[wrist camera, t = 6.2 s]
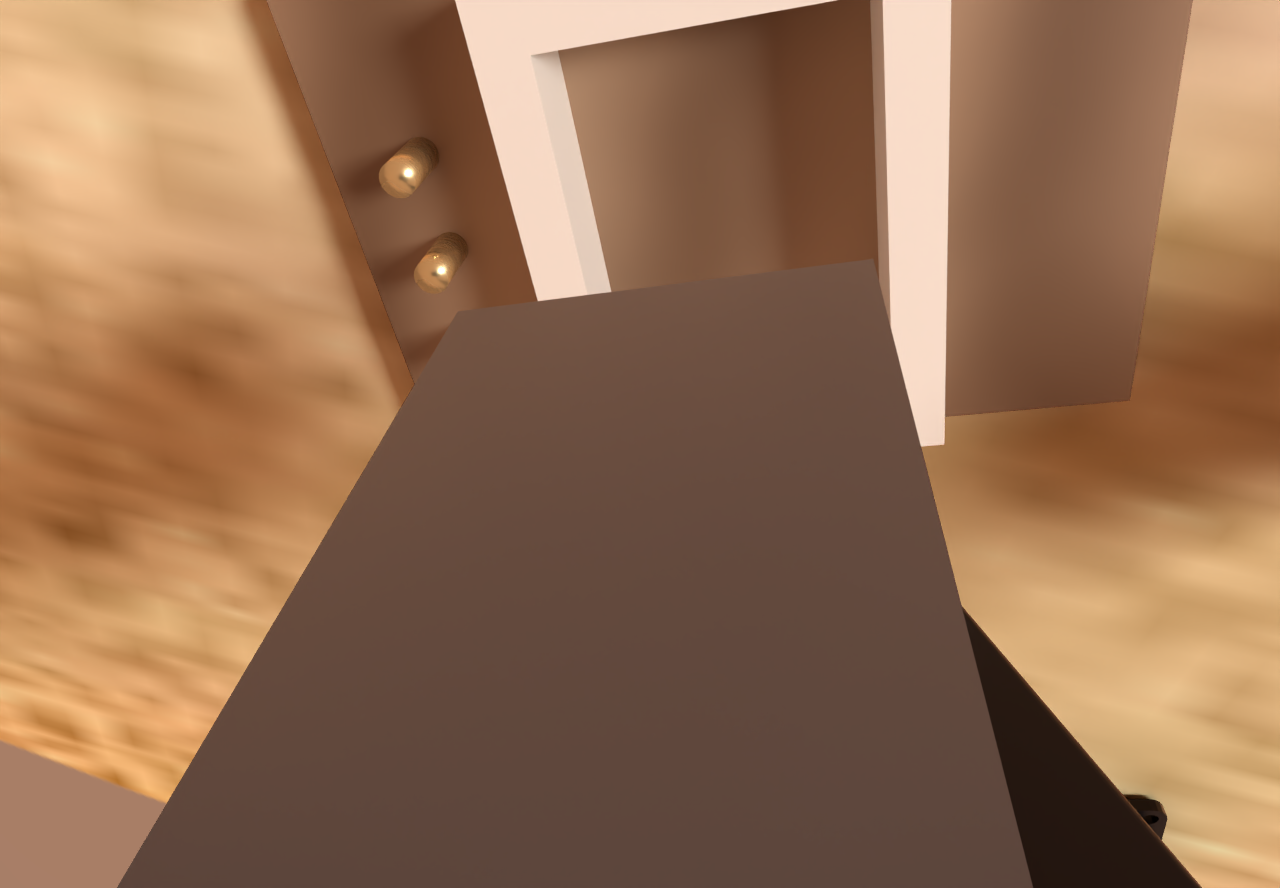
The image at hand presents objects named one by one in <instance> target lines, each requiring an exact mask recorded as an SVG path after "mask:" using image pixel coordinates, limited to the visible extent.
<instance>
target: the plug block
mask: <svg viewBox="0 0 1280 888" xmlns="http://www.w3.org/2000/svg"><path fill="white" fill-rule="evenodd" d="M117 888H1033V885H1032V881H1031V877H1030V874H1029V870H1028V866H1027V862H1026V858H1025V854H1024V850H1023V846H1022V842H1021V838H1020V834H1019V830H1018V826H1017V822H1016V818H1015V815H1014V811H1013V807H1012V803H1011V799H1010V795H1009V791H1008V787H1007V783H1006V779H1005V775H1004V771H1003V767H1002V763H1001V759H1000V755H999V752H998V748H997V744H996V740H995V736H994V732H993V728H992V724H991V720H990V716H989V712H988V708H987V704H986V700H985V696H984V693H983V689H982V685H981V681H980V677H979V673H978V669H977V665H976V661H975V657H974V653H973V649H972V645H971V641H970V637H969V634H968V630H967V626H966V622H965V618H964V614H963V610H962V606H961V602H960V598H959V594H958V590H957V586H956V582H955V578H954V574H953V571H952V567H951V563H950V559H949V555H948V551H947V547H946V543H945V539H944V535H943V531H942V527H941V523H940V519H939V515H938V512H937V508H936V504H935V500H934V496H933V492H932V488H931V484H930V480H929V476H928V472H927V468H926V464H925V460H924V456H923V452H922V449H921V445H920V441H919V437H918V433H917V429H916V425H915V421H914V417H913V413H912V409H911V405H910V401H909V397H908V393H907V390H906V386H905V382H904V378H903V374H902V370H901V366H900V362H899V358H898V354H897V350H896V346H895V342H894V338H893V334H892V330H891V327H890V323H889V319H888V315H887V311H886V307H885V303H884V299H883V295H882V291H881V287H880V283H879V279H878V275H877V271H876V268H875V264H874V260H873V259H868V260H860V261H852V262H844V263H836V264H828V265H820V266H813V267H805V268H797V269H789V270H781V271H773V272H765V273H757V274H749V275H741V276H733V277H725V278H717V279H710V280H702V281H694V282H686V283H678V284H670V285H662V286H654V287H646V288H638V289H630V290H622V291H615V292H607V293H599V294H591V295H583V296H575V297H567V298H559V299H551V300H543V301H535V302H527V303H519V304H512V305H504V306H496V307H488V308H480V309H472V310H464V311H458V312H457V314H456V315H455V317H454V319H453V320H452V322H451V324H450V326H449V327H448V329H447V331H446V332H445V334H444V336H443V337H442V339H441V341H440V342H439V344H438V346H437V348H436V349H435V351H434V353H433V354H432V356H431V358H430V359H429V361H428V363H427V364H426V366H425V368H424V369H423V371H422V373H421V375H420V376H419V378H418V380H417V381H416V383H415V385H414V386H413V388H412V390H411V391H410V393H409V395H408V397H407V398H406V400H405V402H404V403H403V405H402V407H401V408H400V410H399V412H398V413H397V415H396V417H395V419H394V420H393V422H392V424H391V425H390V427H389V429H388V430H387V432H386V434H385V435H384V437H383V439H382V441H381V442H380V444H379V446H378V447H377V449H376V451H375V452H374V454H373V456H372V457H371V459H370V461H369V462H368V464H367V466H366V468H365V469H364V471H363V473H362V474H361V476H360V478H359V479H358V481H357V483H356V484H355V486H354V488H353V490H352V491H351V493H350V495H349V496H348V498H347V500H346V501H345V503H344V505H343V506H342V508H341V510H340V512H339V513H338V515H337V517H336V518H335V520H334V522H333V523H332V525H331V527H330V528H329V530H328V532H327V534H326V535H325V537H324V539H323V540H322V542H321V544H320V545H319V547H318V549H317V550H316V552H315V554H314V556H313V557H312V559H311V561H310V562H309V564H308V566H307V567H306V569H305V571H304V572H303V574H302V576H301V577H300V579H299V581H298V583H297V584H296V586H295V588H294V589H293V591H292V593H291V594H290V596H289V598H288V599H287V601H286V603H285V605H284V606H283V608H282V610H281V611H280V613H279V615H278V616H277V618H276V620H275V621H274V623H273V625H272V627H271V628H270V630H269V632H268V633H267V635H266V637H265V638H264V640H263V642H262V643H261V645H260V647H259V649H258V650H257V652H256V654H255V655H254V657H253V659H252V660H251V662H250V664H249V665H248V667H247V669H246V670H245V672H244V674H243V676H242V677H241V679H240V681H239V682H238V684H237V686H236V687H235V689H234V691H233V692H232V694H231V696H230V698H229V699H228V701H227V703H226V704H225V706H224V708H223V709H222V711H221V713H220V714H219V716H218V718H217V720H216V721H215V723H214V725H213V726H212V728H211V730H210V731H209V733H208V735H207V736H206V738H205V740H204V742H203V743H202V745H201V747H200V748H199V750H198V752H197V753H196V755H195V757H194V758H193V760H192V762H191V763H190V765H189V767H188V769H187V770H186V772H185V774H184V775H183V777H182V779H181V780H180V782H179V784H178V785H177V787H176V789H175V791H174V792H173V794H172V796H171V797H170V799H169V801H168V802H167V804H166V806H165V807H164V809H163V811H162V813H161V814H160V816H159V818H158V820H157V821H156V823H155V824H154V826H153V828H152V829H151V831H150V833H149V835H148V837H147V838H146V840H145V841H144V843H143V845H142V846H141V848H140V850H139V851H138V853H137V855H136V857H135V858H134V860H133V862H132V863H131V865H130V867H129V868H128V870H127V872H126V874H125V875H124V877H123V879H122V880H121V882H120V884H119V885H118V887H117Z"/></svg>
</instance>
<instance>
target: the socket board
mask: <svg viewBox="0 0 1280 888" xmlns="http://www.w3.org/2000/svg"><path fill="white" fill-rule="evenodd" d="M266 1H267V3H268V6H269V8H270V11H271V13H272V16H273V19H274V21H275V24H276V26H277V29H278V32H279V34H280V37H281V39H282V42H283V45H284V47H285V50H286V52H287V55H288V58H289V60H290V63H291V65H292V68H293V71H294V73H295V76H296V78H297V81H298V83H299V86H300V89H301V91H302V94H303V96H304V99H305V102H306V104H307V107H308V109H309V112H310V115H311V117H312V120H313V122H314V125H315V128H316V130H317V133H318V135H319V138H320V141H321V143H322V146H323V148H324V151H325V153H326V156H327V159H328V161H329V164H330V166H331V169H332V172H333V174H334V177H335V179H336V182H337V185H338V187H339V190H340V192H341V195H342V198H343V200H344V203H345V205H346V208H347V210H348V213H349V216H350V218H351V221H352V223H353V226H354V229H355V231H356V234H357V236H358V239H359V242H360V244H361V247H362V249H363V252H364V255H365V257H366V260H367V262H368V265H369V268H370V270H371V273H372V275H373V278H374V280H375V283H376V286H377V288H378V291H379V293H380V296H381V299H382V301H383V304H384V306H385V309H386V312H387V314H388V317H389V319H390V322H391V325H392V327H393V330H394V332H395V335H396V338H397V340H398V343H399V345H400V348H401V350H402V353H403V356H404V358H405V361H406V363H407V366H408V369H409V371H410V374H411V376H412V379H413V382H414V384H415V383H416V381H417V380H418V378H419V376H420V375H421V373H422V371H423V369H424V368H425V366H426V364H427V363H428V361H429V359H430V358H431V356H432V354H433V353H434V351H435V349H436V348H437V346H438V344H439V342H440V341H441V339H442V337H443V336H444V334H445V332H446V331H447V329H448V327H449V326H450V324H451V322H452V320H453V319H454V317H455V315H456V314H457V312H458V311H464V310H472V309H480V308H488V307H496V306H504V305H512V304H519V303H527V302H535V301H543V300H551V299H559V298H567V297H575V296H583V295H591V294H599V293H607V292H615V291H622V290H630V289H638V288H646V287H654V286H662V285H670V284H678V283H686V282H694V281H702V280H710V279H717V278H725V277H733V276H741V275H749V274H757V273H765V272H773V271H781V270H789V269H797V268H805V267H813V266H820V265H828V264H836V263H844V262H852V261H860V260H868V259H873V260H874V264H875V268H876V271H877V275H878V279H879V283H880V287H881V291H882V295H883V299H884V303H885V307H886V311H887V315H888V319H889V323H890V327H891V330H892V334H893V338H894V342H895V346H896V350H897V354H898V358H899V362H900V366H901V370H902V374H903V378H904V382H905V386H906V390H907V393H908V397H909V401H910V405H911V409H912V413H913V417H914V421H915V425H916V429H917V433H918V437H919V441H920V445H921V446H933V445H944V438H945V417H947V416H958V415H969V414H981V413H992V412H1004V411H1015V410H1027V409H1038V408H1050V407H1061V406H1073V405H1084V404H1095V403H1107V402H1118V401H1130V397H1131V390H1132V384H1133V378H1134V371H1135V365H1136V358H1137V352H1138V346H1139V339H1140V333H1141V327H1142V320H1143V314H1144V307H1145V301H1146V295H1147V288H1148V282H1149V276H1150V269H1151V263H1152V256H1153V250H1154V244H1155V237H1156V231H1157V225H1158V218H1159V212H1160V205H1161V199H1162V193H1163V186H1164V180H1165V174H1166V167H1167V161H1168V154H1169V148H1170V142H1171V135H1172V129H1173V123H1174V116H1175V110H1176V104H1177V97H1178V91H1179V84H1180V78H1181V72H1182V65H1183V59H1184V53H1185V46H1186V40H1187V33H1188V27H1189V21H1190V14H1191V8H1192V2H1193V0H266Z"/></svg>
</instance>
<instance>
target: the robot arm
mask: <svg viewBox="0 0 1280 888" xmlns="http://www.w3.org/2000/svg"><path fill="white" fill-rule="evenodd" d="M962 610H963V614H964V618H965V622H966V626H967V630H968V634H969V637H970V641H971V645H972V649H973V653H974V657H975V661H976V665H977V669H978V673H979V677H980V681H981V685H982V689H983V693H984V696H985V700H986V704H987V708H988V712H989V716H990V720H991V724H992V728H993V732H994V736H995V740H996V744H997V748H998V752H999V755H1000V759H1001V763H1002V767H1003V771H1004V775H1005V779H1006V783H1007V787H1008V791H1009V795H1010V799H1011V803H1012V807H1013V811H1014V815H1015V818H1016V822H1017V826H1018V830H1019V834H1020V838H1021V842H1022V846H1023V850H1024V854H1025V858H1026V862H1027V866H1028V870H1029V874H1030V877H1031V881H1032V885H1033V888H1202V887H1201V886H1200V885H1199V884H1198V883H1197V881H1196V880H1195V879H1194V878H1193V877H1192V875H1191V874H1190V873H1189V872H1188V871H1187V870H1186V868H1185V867H1184V866H1183V865H1182V864H1181V863H1180V861H1179V860H1178V859H1177V858H1176V857H1175V856H1174V854H1173V853H1172V852H1171V851H1170V850H1169V848H1168V847H1167V846H1166V845H1165V844H1164V843H1163V841H1162V837H1163V833H1164V829H1165V826H1166V822H1167V815H1166V813H1165V811H1164V808H1163V806H1162V804H1161V803H1160V802H1158V801H1156V800H1150V799H1126V798H1125V797H1124V796H1123V795H1122V793H1121V792H1120V791H1119V790H1118V789H1117V787H1116V786H1115V785H1114V784H1113V783H1112V782H1111V780H1110V779H1109V778H1108V777H1107V776H1106V775H1105V773H1104V772H1103V771H1102V770H1101V769H1100V768H1099V766H1098V765H1097V764H1096V763H1095V762H1094V761H1093V759H1092V758H1091V757H1090V756H1089V755H1088V753H1087V752H1086V751H1085V750H1084V749H1083V748H1082V746H1081V745H1080V744H1079V743H1078V742H1077V741H1076V739H1075V738H1074V737H1073V736H1072V735H1071V734H1070V732H1069V731H1068V730H1067V729H1066V728H1065V726H1064V725H1063V724H1062V723H1061V722H1060V721H1059V719H1058V718H1057V717H1056V716H1055V715H1054V714H1053V712H1052V711H1051V710H1050V709H1049V708H1048V707H1047V705H1046V704H1045V703H1044V702H1043V701H1042V700H1041V698H1040V697H1039V696H1038V695H1037V694H1036V692H1035V691H1034V690H1033V689H1032V688H1031V687H1030V685H1029V684H1028V683H1027V682H1026V681H1025V680H1024V678H1023V677H1022V676H1021V675H1020V674H1019V673H1018V671H1017V670H1016V669H1015V668H1014V667H1013V665H1012V664H1011V663H1010V662H1009V661H1008V660H1007V658H1006V657H1005V656H1004V655H1003V654H1002V653H1001V651H1000V650H999V649H998V648H997V647H996V646H995V644H994V643H993V642H992V641H991V640H990V639H989V637H988V636H987V635H986V634H985V633H984V631H983V630H982V629H981V628H980V627H979V626H978V624H977V623H976V622H975V621H974V620H973V619H972V617H971V616H970V615H969V614H968V613H967V612H966V610H965V609H964V608H963V607H962Z"/></svg>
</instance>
